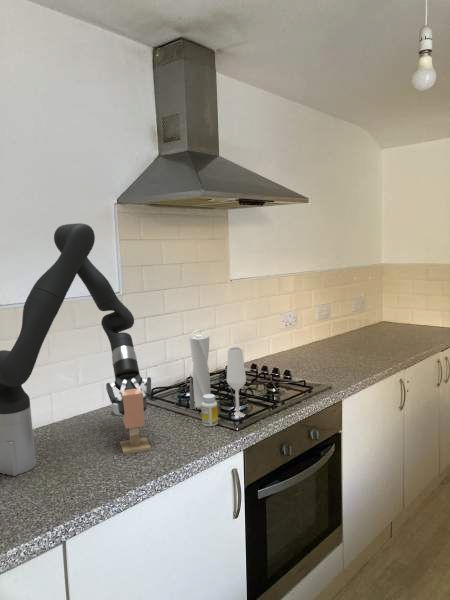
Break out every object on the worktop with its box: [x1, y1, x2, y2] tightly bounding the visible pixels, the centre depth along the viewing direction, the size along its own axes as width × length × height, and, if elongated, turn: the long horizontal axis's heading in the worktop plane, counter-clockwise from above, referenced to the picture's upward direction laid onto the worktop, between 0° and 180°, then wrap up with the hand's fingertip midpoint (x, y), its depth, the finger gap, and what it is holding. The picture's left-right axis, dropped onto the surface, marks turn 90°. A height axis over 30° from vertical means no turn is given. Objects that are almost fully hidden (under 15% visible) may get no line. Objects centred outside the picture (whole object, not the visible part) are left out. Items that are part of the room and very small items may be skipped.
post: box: [119, 426, 152, 455], centre depth 149 cm, size 8×8×8 cm
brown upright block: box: [121, 388, 146, 429], centre depth 148 cm, size 6×6×10 cm
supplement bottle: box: [200, 393, 219, 427], centre depth 165 cm, size 5×5×10 cm
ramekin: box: [111, 403, 123, 416], centre depth 180 cm, size 9×9×4 cm
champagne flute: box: [226, 346, 247, 417], centre depth 169 cm, size 7×7×24 cm
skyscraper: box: [188, 328, 211, 410], centre depth 182 cm, size 8×8×28 cm
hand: (133, 412), depth 146 cm, fingers closed on brown upright block, 5 cm apart
